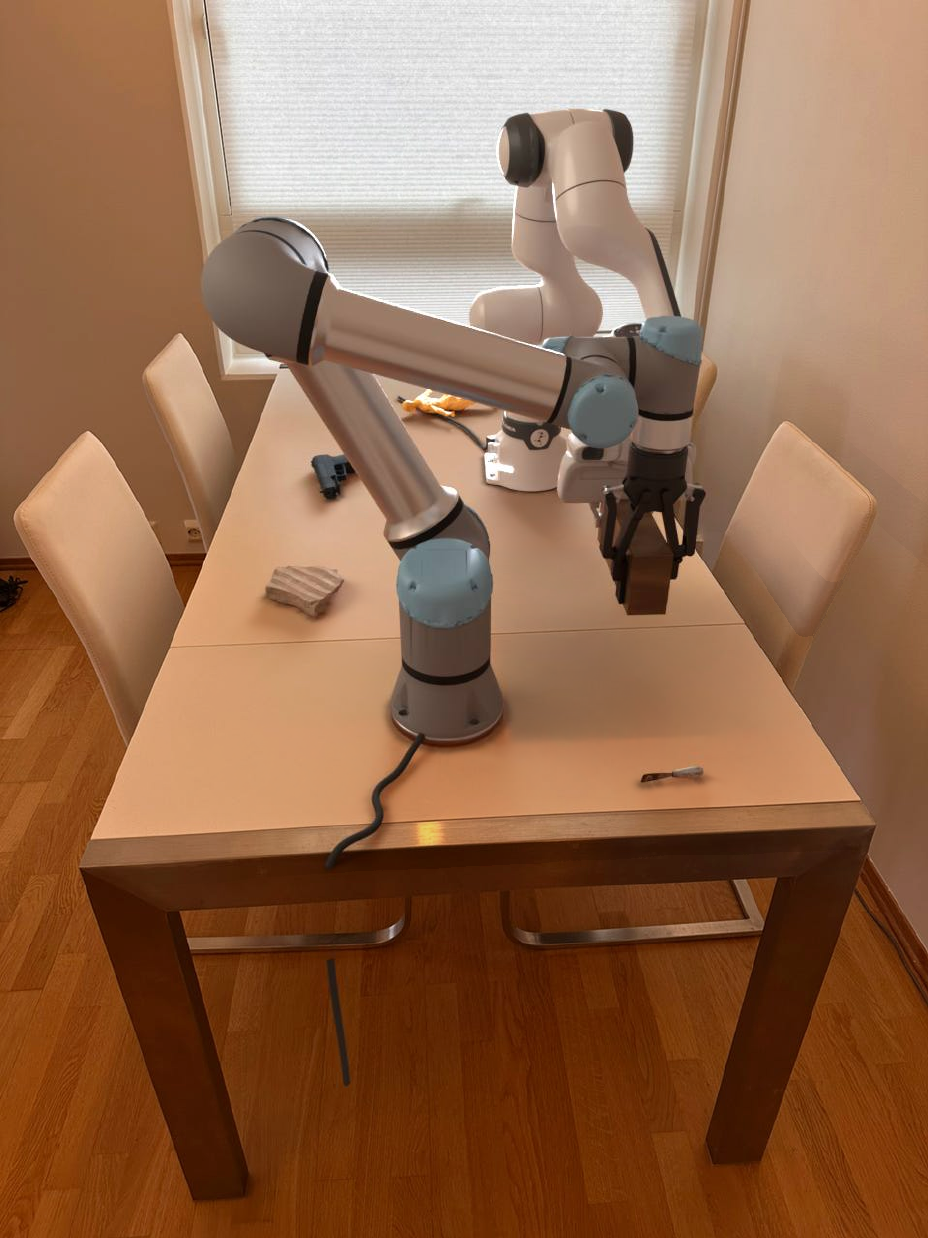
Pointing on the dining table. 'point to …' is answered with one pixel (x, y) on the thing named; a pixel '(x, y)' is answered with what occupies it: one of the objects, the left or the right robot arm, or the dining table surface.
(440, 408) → the human figure
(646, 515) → the bar
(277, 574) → the stone
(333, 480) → the handgun
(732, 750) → the dining table surface
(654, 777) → the putty knife
